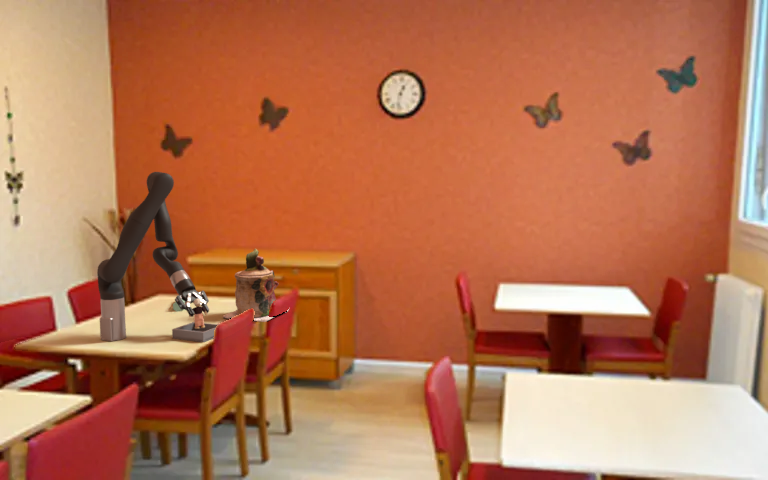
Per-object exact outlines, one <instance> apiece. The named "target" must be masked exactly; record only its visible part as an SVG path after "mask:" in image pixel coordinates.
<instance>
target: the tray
mask: <svg viewBox="0 0 768 480" xmlns="http://www.w3.org/2000/svg"><path fill="white" fill-rule="evenodd" d="M204 325H205V328H201V327H200V326H199V327H200V328H199V329H195V328H194V327H195V321H192V322H189V323H187V324H186V323H185V324H183V325H181V326H177V327H175V328H171V331H172V332H171V333H172V335H171V336H172V339H174V340H182V341H191V342H198V343H205V342H208V341H211V340H213V339H214V338H213V337H214V330H215V328H216V326H217V325H219V324H217V323H210V322H208V323H207V322H204Z"/></svg>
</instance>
